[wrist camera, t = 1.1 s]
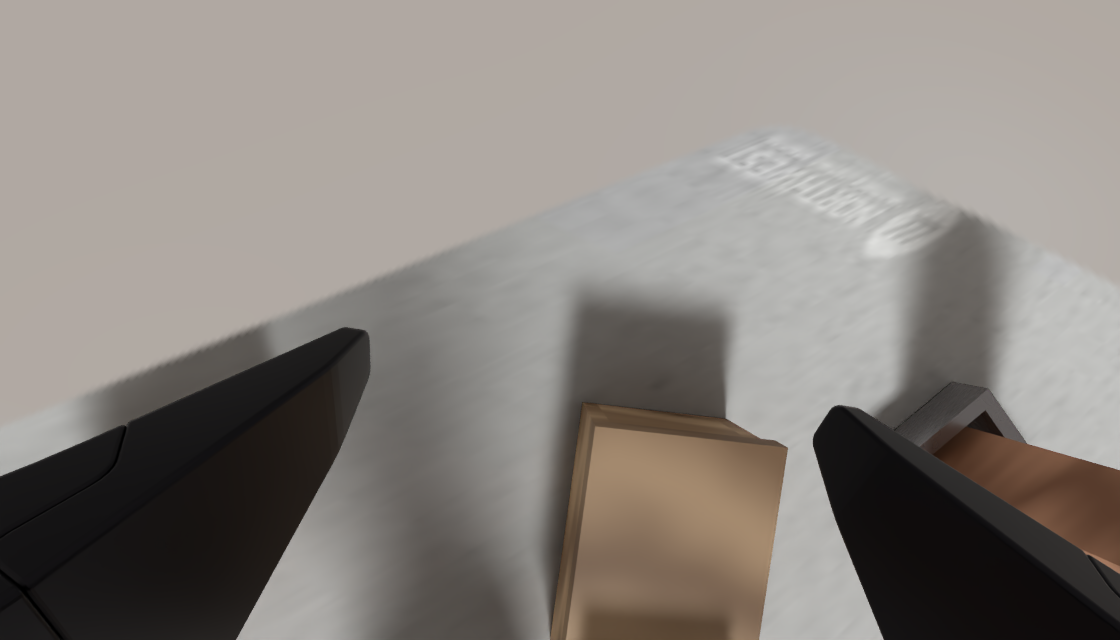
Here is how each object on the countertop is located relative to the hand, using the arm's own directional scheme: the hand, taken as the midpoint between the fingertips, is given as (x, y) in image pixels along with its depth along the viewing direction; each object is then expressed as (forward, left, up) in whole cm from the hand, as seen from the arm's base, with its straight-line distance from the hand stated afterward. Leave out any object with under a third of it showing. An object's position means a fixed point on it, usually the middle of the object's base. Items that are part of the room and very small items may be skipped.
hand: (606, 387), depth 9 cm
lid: (-10, -6, -11) cm, 16 cm away
